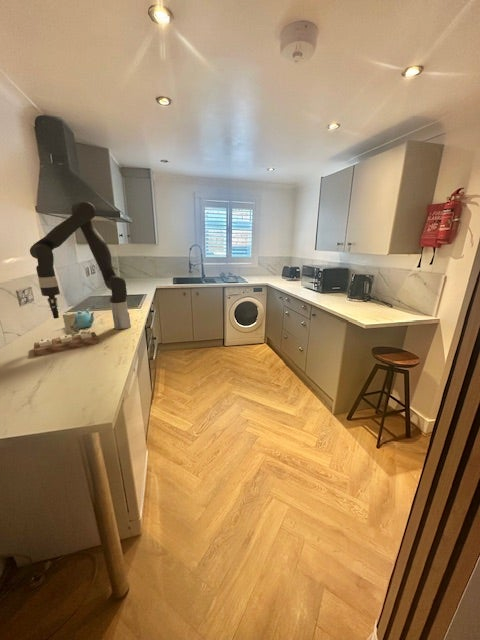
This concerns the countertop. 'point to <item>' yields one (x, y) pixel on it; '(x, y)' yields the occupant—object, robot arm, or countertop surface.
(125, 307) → the robot arm
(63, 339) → the button one
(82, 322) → the teapot
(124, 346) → the countertop surface
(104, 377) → the countertop surface
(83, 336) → the button three
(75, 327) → the box
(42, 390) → the countertop surface
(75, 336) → the button panel
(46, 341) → the button two
